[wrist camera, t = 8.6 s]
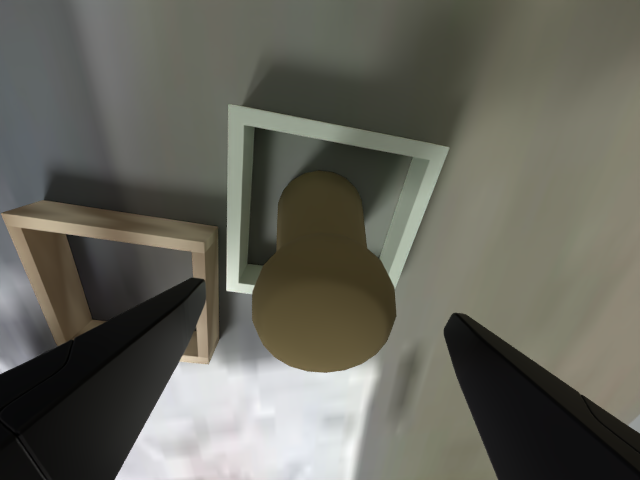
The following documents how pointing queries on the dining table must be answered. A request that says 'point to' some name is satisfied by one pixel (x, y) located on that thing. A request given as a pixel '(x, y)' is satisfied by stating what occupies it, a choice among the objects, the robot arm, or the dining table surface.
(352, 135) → the bin
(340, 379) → the dining table surface
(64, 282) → the bin
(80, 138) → the dining table surface
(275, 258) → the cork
